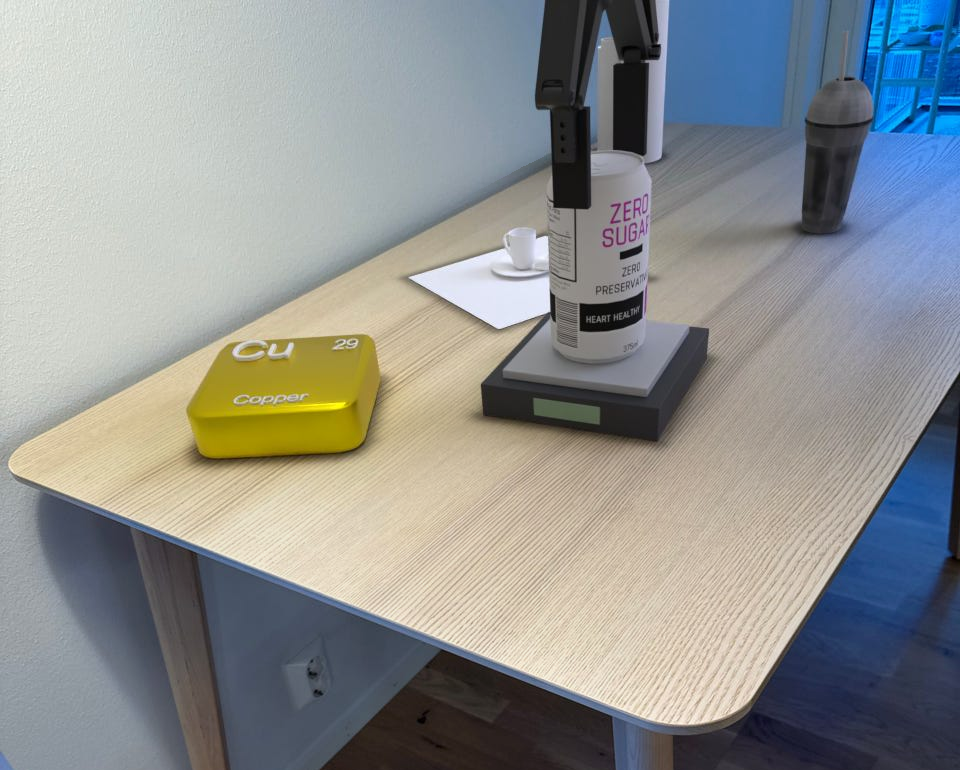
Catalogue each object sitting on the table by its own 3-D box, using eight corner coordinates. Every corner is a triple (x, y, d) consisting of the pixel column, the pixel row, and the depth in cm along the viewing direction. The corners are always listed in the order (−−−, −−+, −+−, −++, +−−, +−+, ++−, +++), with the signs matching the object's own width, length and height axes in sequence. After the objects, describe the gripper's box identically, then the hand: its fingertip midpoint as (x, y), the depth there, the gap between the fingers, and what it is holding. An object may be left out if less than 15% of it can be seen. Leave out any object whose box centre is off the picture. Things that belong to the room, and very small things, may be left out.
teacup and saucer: (576, 269, 105) (575, 233, 102) (519, 288, 102) (517, 251, 99) (533, 250, 110) (531, 215, 108) (478, 267, 108) (475, 232, 105)
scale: (706, 358, 85) (710, 319, 83) (656, 442, 75) (659, 400, 72) (549, 340, 91) (548, 303, 89) (482, 415, 81) (478, 375, 78)
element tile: (193, 461, 79) (176, 411, 76) (235, 382, 90) (222, 336, 87) (362, 453, 77) (353, 402, 74) (384, 373, 89) (376, 326, 85)
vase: (670, 154, 136) (679, -8, 123) (644, 167, 133) (650, 1, 119) (607, 146, 142) (609, -8, 129) (581, 158, 138) (580, 0, 125)
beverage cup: (866, 225, 108) (905, 25, 94) (825, 242, 105) (859, 38, 92) (816, 212, 112) (847, 20, 99) (776, 228, 110) (802, 32, 96)
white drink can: (570, 323, 85) (568, 146, 75) (656, 332, 82) (665, 149, 72) (537, 360, 79) (529, 175, 69) (627, 372, 76) (633, 180, 66)
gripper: (609, -185, 67) (609, 135, 81) (463, -166, 50) (494, 230, 65) (711, -198, 64) (692, 136, 78) (591, -181, 48) (594, 236, 62)
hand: (602, 179), depth 71 cm, fingers open, 13 cm apart
